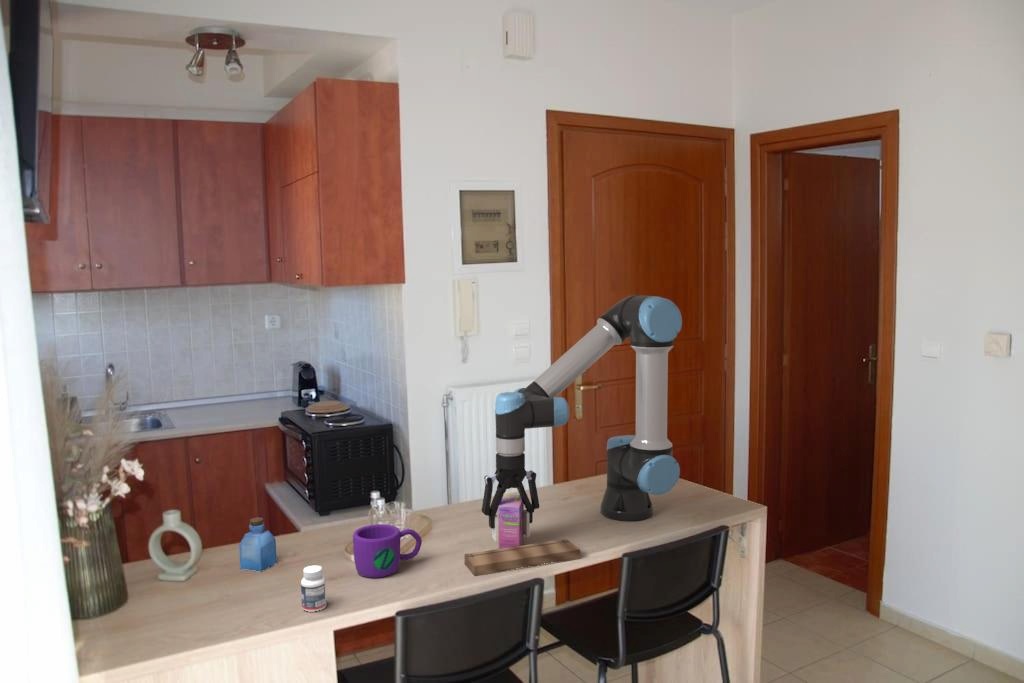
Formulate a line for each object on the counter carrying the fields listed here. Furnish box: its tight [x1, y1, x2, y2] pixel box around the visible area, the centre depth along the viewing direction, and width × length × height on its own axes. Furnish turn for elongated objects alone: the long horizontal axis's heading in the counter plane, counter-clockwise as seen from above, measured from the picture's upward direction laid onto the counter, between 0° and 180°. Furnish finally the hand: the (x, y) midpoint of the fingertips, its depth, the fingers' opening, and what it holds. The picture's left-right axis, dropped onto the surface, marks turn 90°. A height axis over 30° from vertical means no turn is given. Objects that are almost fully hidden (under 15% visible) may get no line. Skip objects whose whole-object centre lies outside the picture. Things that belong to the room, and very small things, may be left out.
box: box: [497, 494, 525, 549], centre depth 209 cm, size 10×6×12 cm, turn 173°
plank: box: [463, 538, 581, 577], centre depth 200 cm, size 28×8×3 cm, turn 111°
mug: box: [352, 523, 423, 579], centre depth 196 cm, size 17×11×10 cm, turn 119°
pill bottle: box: [300, 564, 327, 613], centre depth 175 cm, size 5×5×9 cm
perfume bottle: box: [238, 517, 278, 572], centre depth 198 cm, size 6×6×12 cm
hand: (511, 537), depth 209 cm, fingers closed on box, 8 cm apart
